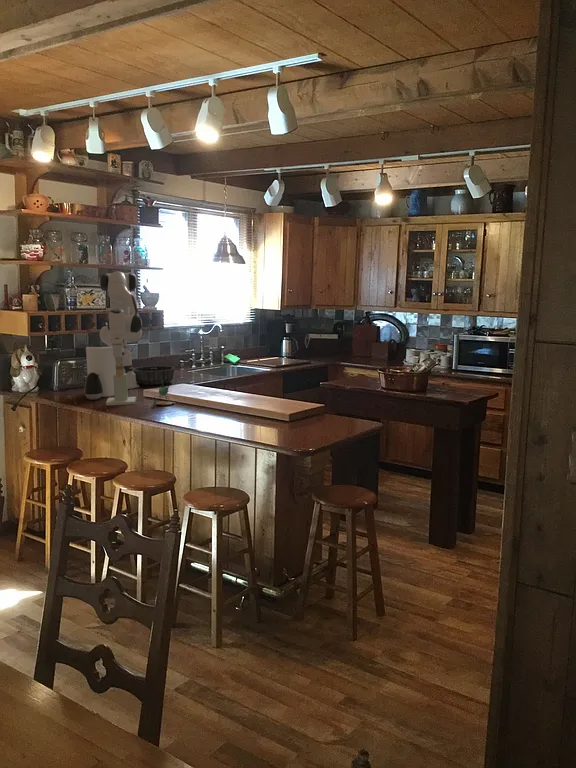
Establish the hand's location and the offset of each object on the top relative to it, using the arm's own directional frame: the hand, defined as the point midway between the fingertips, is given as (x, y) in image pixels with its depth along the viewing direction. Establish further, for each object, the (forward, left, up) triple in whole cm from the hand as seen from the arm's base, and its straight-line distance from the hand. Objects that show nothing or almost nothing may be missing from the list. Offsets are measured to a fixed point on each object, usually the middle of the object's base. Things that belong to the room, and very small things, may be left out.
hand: (119, 364), depth 372 cm
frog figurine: (+14, +22, -21) cm, 34 cm away
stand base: (0, 0, -21) cm, 21 cm away
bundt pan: (-62, +16, -21) cm, 67 cm away
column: (0, 0, -19) cm, 19 cm away
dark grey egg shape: (-14, -16, -21) cm, 30 cm away
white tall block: (-29, -12, -21) cm, 38 cm away
